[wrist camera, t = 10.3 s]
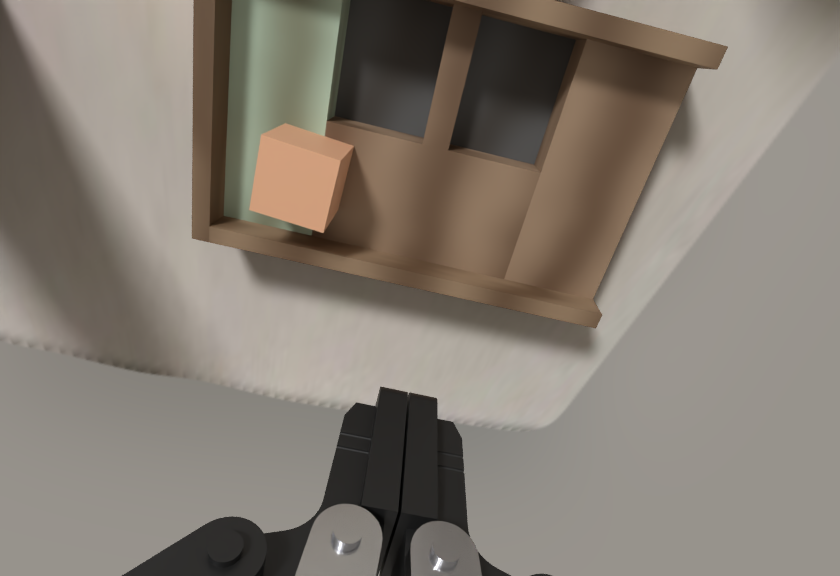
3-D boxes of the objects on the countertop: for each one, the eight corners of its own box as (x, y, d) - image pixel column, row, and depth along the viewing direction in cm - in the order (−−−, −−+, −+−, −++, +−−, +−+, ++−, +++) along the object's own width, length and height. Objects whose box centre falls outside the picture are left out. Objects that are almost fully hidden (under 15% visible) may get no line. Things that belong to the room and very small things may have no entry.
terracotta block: (273, 189, 28) (249, 210, 25) (285, 123, 27) (261, 134, 23) (338, 210, 29) (323, 232, 25) (354, 146, 27) (340, 160, 23)
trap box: (223, 214, 32) (192, 238, 28) (234, -73, 25) (194, -97, 21) (577, 294, 33) (595, 328, 29) (684, 47, 26) (727, 46, 22)
